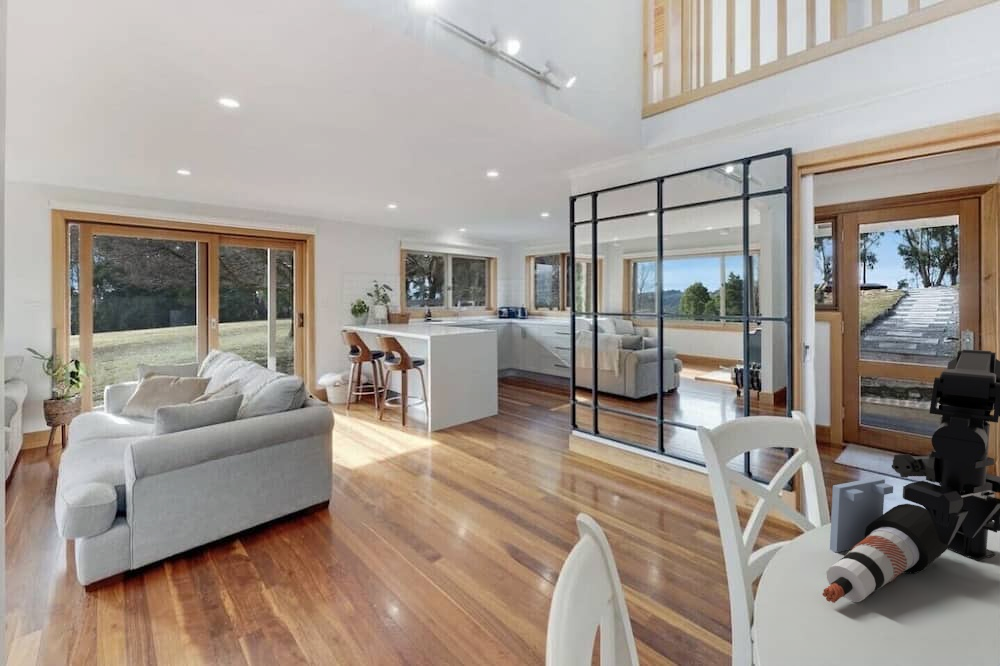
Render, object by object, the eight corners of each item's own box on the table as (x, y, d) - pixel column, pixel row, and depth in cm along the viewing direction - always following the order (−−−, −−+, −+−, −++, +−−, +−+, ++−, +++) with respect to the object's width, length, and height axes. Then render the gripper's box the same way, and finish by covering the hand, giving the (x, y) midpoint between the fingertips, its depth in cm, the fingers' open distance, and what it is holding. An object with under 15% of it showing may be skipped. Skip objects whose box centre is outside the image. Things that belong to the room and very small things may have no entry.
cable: (815, 624, 81) (787, 564, 84) (904, 554, 97) (878, 505, 100) (876, 632, 73) (843, 565, 76) (962, 554, 88) (932, 501, 91)
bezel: (874, 538, 101) (877, 477, 100) (892, 546, 98) (896, 483, 97) (829, 549, 97) (832, 485, 96) (847, 558, 94) (850, 492, 93)
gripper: (938, 430, 85) (933, 510, 86) (870, 440, 79) (865, 526, 80) (1021, 448, 75) (1014, 539, 76) (950, 461, 69) (943, 560, 70)
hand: (956, 540), depth 76 cm, fingers open, 6 cm apart
